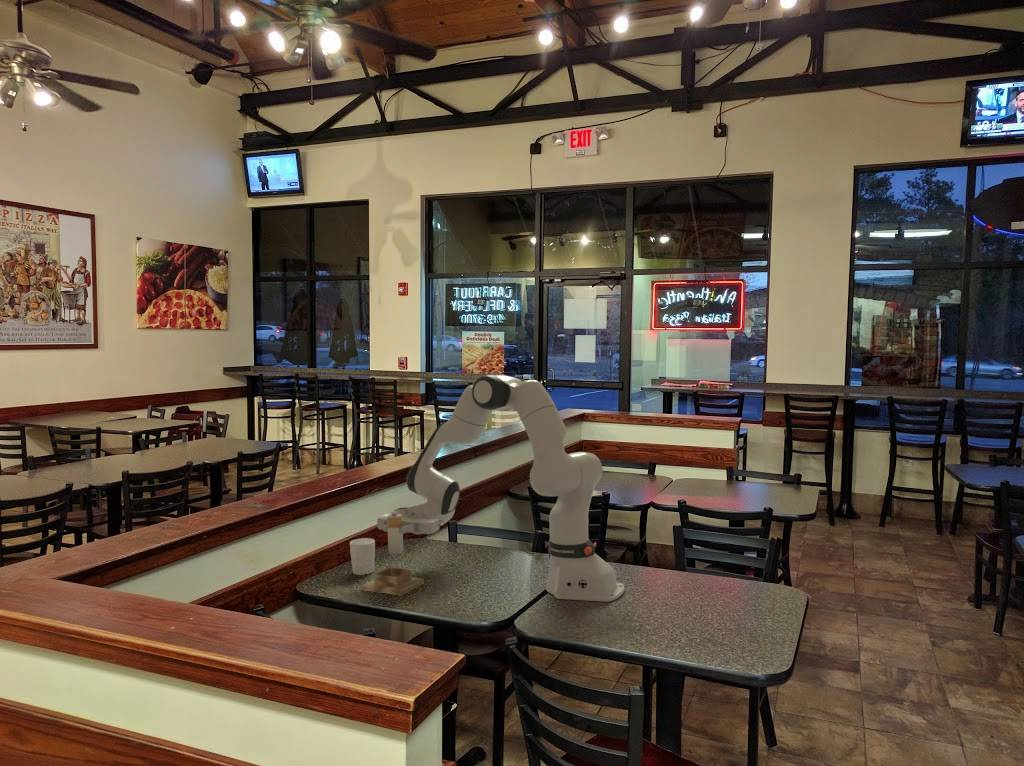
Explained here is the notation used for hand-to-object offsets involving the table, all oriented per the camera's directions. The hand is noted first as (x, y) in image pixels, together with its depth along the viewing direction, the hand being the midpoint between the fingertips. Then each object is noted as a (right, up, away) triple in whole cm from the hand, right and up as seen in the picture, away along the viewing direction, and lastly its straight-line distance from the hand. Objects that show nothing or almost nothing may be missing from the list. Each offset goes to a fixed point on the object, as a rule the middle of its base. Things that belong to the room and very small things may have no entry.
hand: (393, 529), depth 213 cm
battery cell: (+1, -7, +1) cm, 7 cm away
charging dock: (0, -17, -1) cm, 17 cm away
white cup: (-12, -17, +15) cm, 26 cm away
